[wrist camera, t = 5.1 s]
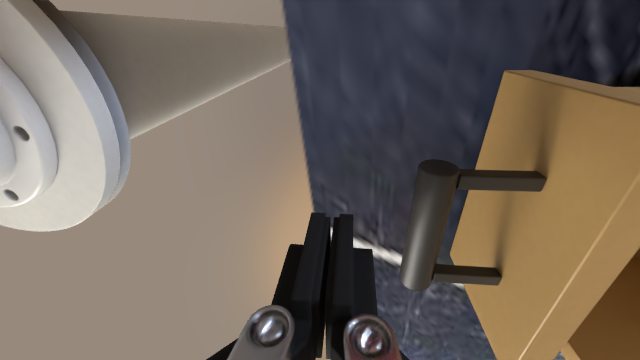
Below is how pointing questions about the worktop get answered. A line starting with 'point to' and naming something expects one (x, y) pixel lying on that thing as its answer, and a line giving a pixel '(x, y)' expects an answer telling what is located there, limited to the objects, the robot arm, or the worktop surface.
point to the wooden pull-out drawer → (542, 221)
